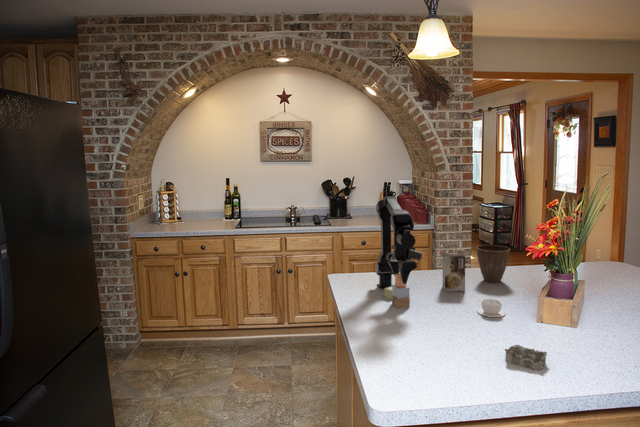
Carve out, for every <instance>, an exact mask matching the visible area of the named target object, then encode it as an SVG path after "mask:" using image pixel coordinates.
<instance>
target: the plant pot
mask: <svg viewBox="0 0 640 427" xmlns="http://www.w3.org/2000/svg"><path fill="white" fill-rule="evenodd" d="M510 252H511V248H510V247H508V246H504V245H497V244H496V245H495V244H483V245H482V244H481V245H477V246H476V255H477V261H478V265H479V268H480V272H481V275H482V278H483V281H485V282H486V283H493V284H494V283H495V284H496V283H500V282H502V279H503V276H504V275H505V271H506V269H507V266H508V262H509V258H510Z"/></svg>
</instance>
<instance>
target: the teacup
mask: <svg viewBox="0 0 640 427" xmlns="http://www.w3.org/2000/svg"><path fill="white" fill-rule="evenodd" d="M480 303H481V308H480V309H477V313H478V314H479V315H481V316H484V317H489V318H501V317H504V316H505V315H506V313H505V311H503V310H502V307H503V306H502V305H503V301H500V300H498V299H495V298H494V299H493V298H484V299H482V300H481V302H480Z"/></svg>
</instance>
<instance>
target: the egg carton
mask: <svg viewBox="0 0 640 427" xmlns="http://www.w3.org/2000/svg"><path fill="white" fill-rule="evenodd" d="M504 351H505V359H504V360H505V361H507V362H508V363H509V364H519V366H520V367H530V368H532V370H543V368H544V367H543V366H546V360H547V354H548V351H541V350H540V351H539V350H535V348H528V347H524V346H521V345H519V344H514V345H511V346H509V348H508V349H507V348H505V349H504Z"/></svg>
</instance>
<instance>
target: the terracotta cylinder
mask: <svg viewBox="0 0 640 427" xmlns="http://www.w3.org/2000/svg"><path fill="white" fill-rule="evenodd" d="M407 283H408V282H407ZM407 283H406V284H403V281H402V278H401V275H400V272H399V273H396V274H395V276H394V285H395V287H397V288H406V287H407V285H408V284H407Z"/></svg>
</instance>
